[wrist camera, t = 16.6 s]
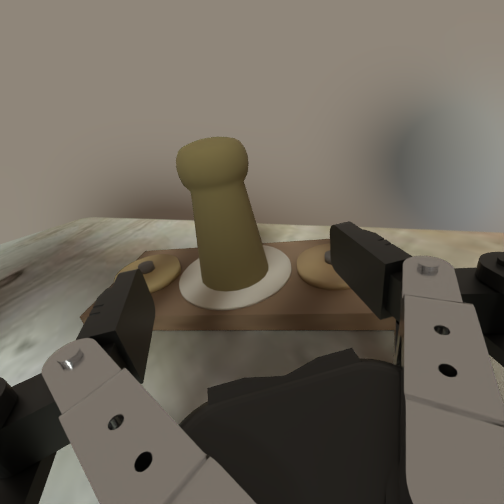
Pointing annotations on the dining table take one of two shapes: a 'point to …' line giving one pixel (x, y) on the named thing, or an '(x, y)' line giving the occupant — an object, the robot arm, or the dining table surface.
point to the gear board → (255, 293)
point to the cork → (222, 213)
